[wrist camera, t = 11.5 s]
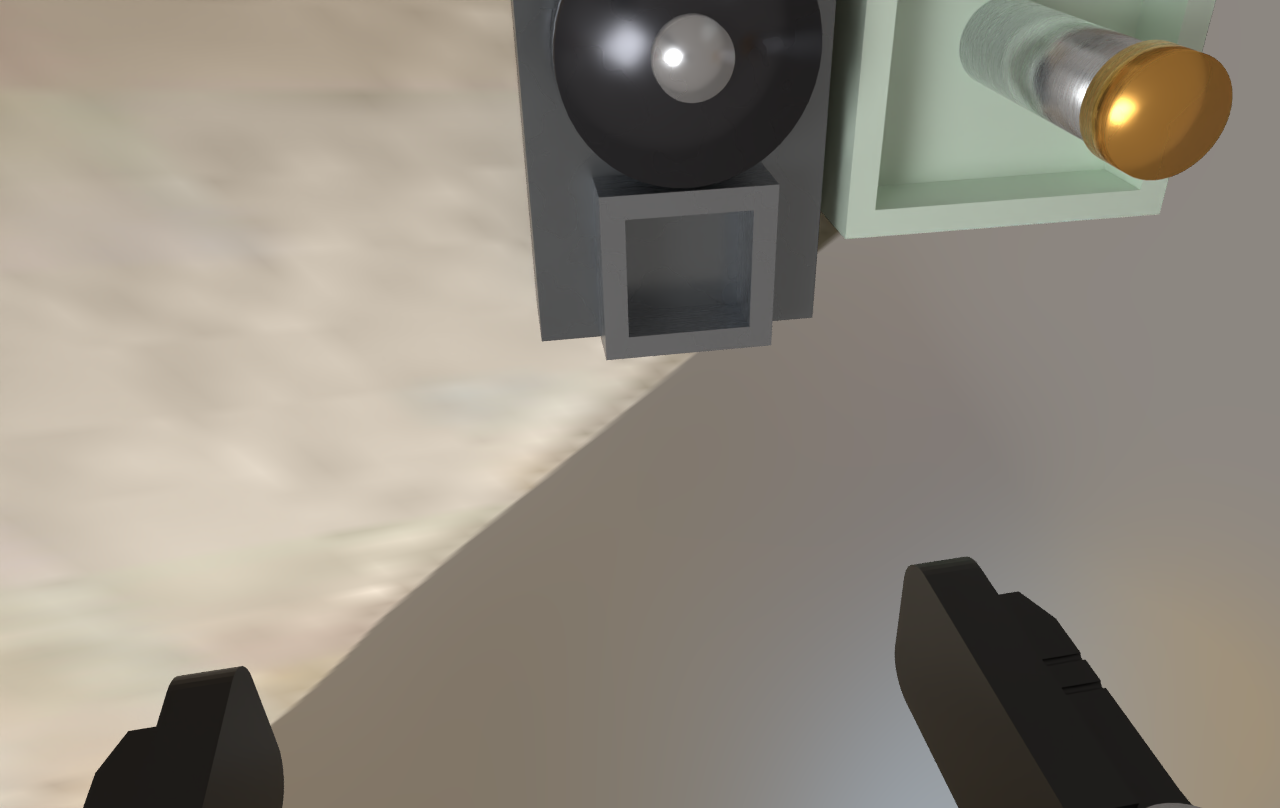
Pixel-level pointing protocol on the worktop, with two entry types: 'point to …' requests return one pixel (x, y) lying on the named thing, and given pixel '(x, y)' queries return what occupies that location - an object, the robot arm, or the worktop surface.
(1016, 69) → the pin
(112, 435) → the worktop surface
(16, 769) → the worktop surface
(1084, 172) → the tray
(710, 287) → the tensioner block
